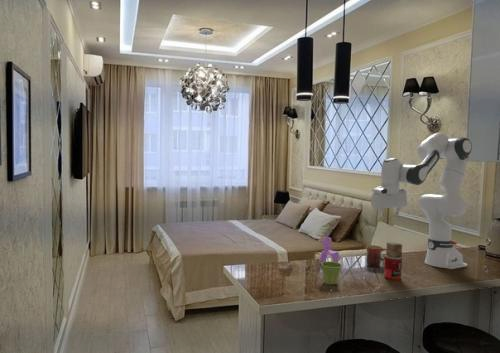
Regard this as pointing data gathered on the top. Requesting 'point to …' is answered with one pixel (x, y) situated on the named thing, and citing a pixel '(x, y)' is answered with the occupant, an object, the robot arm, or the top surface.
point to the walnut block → (394, 249)
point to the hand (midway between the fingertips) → (389, 216)
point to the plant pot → (331, 272)
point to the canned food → (393, 267)
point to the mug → (374, 255)
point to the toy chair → (328, 251)
